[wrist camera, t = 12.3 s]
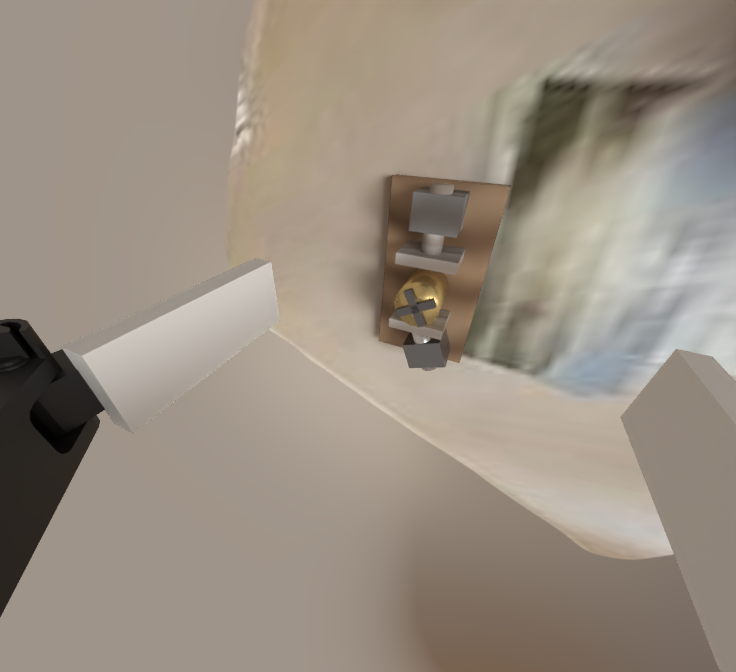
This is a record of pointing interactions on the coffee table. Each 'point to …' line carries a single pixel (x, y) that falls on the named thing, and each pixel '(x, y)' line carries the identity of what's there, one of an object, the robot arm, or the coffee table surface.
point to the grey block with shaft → (426, 351)
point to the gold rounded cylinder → (421, 297)
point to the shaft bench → (468, 267)
